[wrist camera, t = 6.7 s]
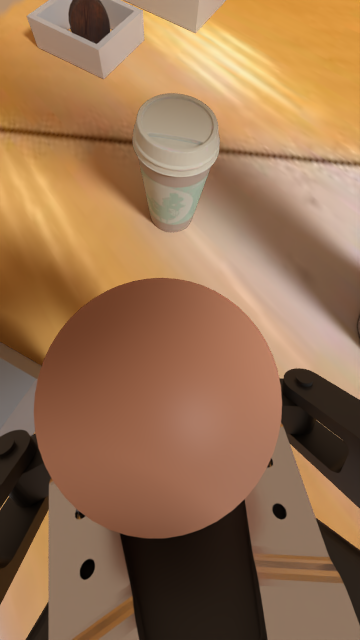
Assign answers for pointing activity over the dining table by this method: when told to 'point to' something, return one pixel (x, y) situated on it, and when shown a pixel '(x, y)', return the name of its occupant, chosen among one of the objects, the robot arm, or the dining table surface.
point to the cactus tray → (181, 11)
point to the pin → (157, 408)
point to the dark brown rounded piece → (89, 19)
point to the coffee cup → (175, 155)
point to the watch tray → (94, 58)
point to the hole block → (17, 391)
